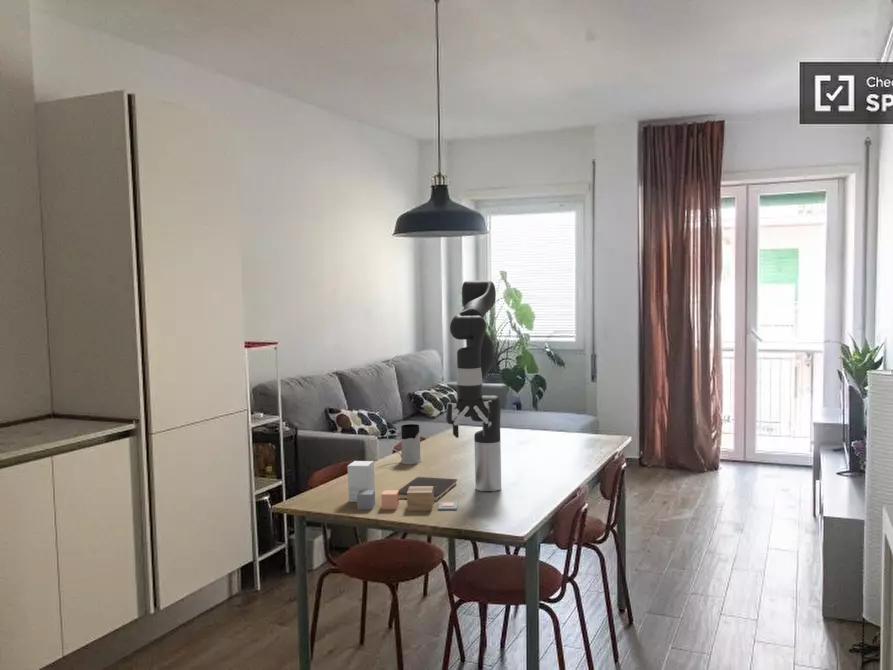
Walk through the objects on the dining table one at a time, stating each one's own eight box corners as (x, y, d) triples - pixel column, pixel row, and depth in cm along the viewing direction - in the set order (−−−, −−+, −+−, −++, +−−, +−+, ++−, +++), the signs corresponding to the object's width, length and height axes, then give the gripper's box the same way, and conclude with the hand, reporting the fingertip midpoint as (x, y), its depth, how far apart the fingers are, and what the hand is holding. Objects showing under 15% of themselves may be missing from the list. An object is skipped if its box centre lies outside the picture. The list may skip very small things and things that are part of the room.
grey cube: (360, 505, 253) (359, 490, 252) (375, 505, 252) (374, 490, 252) (357, 509, 248) (357, 494, 247) (372, 509, 247) (372, 494, 247)
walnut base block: (409, 504, 253) (409, 486, 253) (433, 503, 253) (433, 486, 252) (407, 511, 245) (406, 492, 245) (432, 510, 245) (431, 492, 244)
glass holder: (420, 463, 311) (420, 427, 310) (386, 464, 311) (385, 428, 310) (422, 459, 319) (421, 423, 318) (388, 459, 320) (387, 424, 319)
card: (439, 503, 252) (439, 500, 252) (457, 503, 252) (457, 500, 252) (438, 510, 245) (438, 507, 244) (456, 510, 244) (456, 507, 244)
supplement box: (375, 497, 262) (374, 460, 261) (368, 503, 255) (367, 465, 254) (355, 496, 264) (354, 460, 263) (348, 502, 256) (346, 465, 256)
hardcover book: (457, 485, 277) (457, 479, 277) (437, 502, 255) (437, 495, 255) (416, 482, 282) (416, 476, 282) (393, 499, 260) (392, 492, 260)
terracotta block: (384, 505, 252) (383, 490, 252) (399, 505, 252) (398, 490, 252) (381, 509, 247) (381, 494, 247) (397, 509, 247) (396, 494, 247)
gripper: (489, 380, 231) (490, 432, 232) (443, 382, 229) (445, 435, 230) (495, 383, 224) (496, 437, 225) (448, 385, 221) (449, 440, 222)
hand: (470, 436), depth 227 cm, fingers open, 8 cm apart
